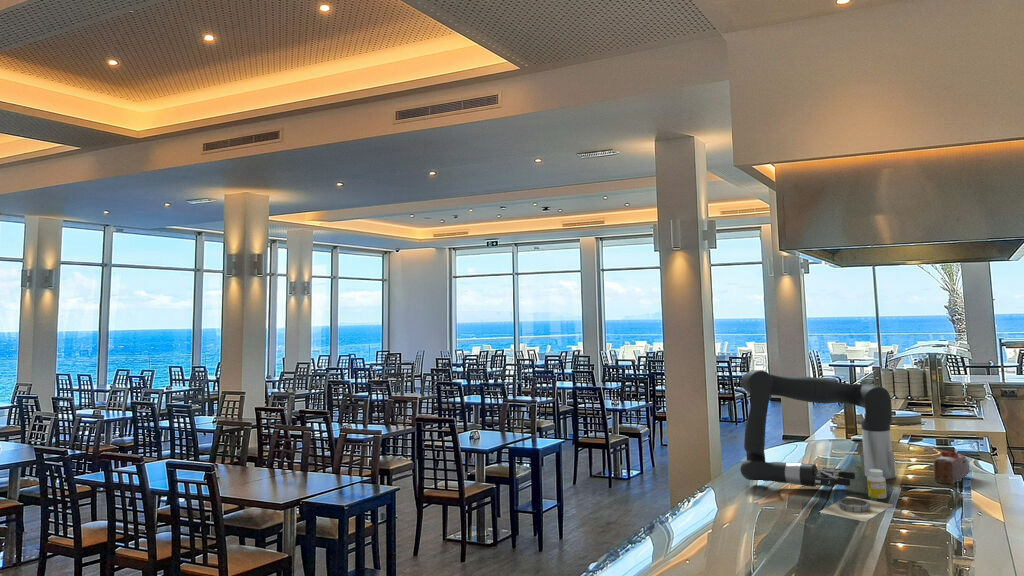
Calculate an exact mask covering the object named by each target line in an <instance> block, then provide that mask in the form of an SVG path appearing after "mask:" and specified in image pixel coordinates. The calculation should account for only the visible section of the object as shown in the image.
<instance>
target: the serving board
mask: <svg viewBox="0 0 1024 576" xmlns="http://www.w3.org/2000/svg"><path fill="white" fill-rule="evenodd" d="M845 498H856V499H862V500H865V501H868V502H869V503H870V510H869V511H868V512H863V513H854V512H847V511H844V510H841V509H840V508H839V503H838V501H836V502H834V503H832V504H831V505H829V506H827V507H825V508H823V509H821V510H820V511H818V513H822V514H826V515H830V516H831V515H832V516H837V517H841V518H845V519H850V520H855V521H860V522H864V523H865V522H868V521H869V520H870V519H873V518H874V517H876V516H877V515H879V514H880V513H882V512H885V511H886V510H887V509H889V508H891V507H892V506H893V504H890V503H886V502H881V501H875V500H870V499H863V498H859V497H854V496H848V495H847V496H845V497H844V498H843V499H845ZM851 506H860V505H851Z"/></svg>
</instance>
